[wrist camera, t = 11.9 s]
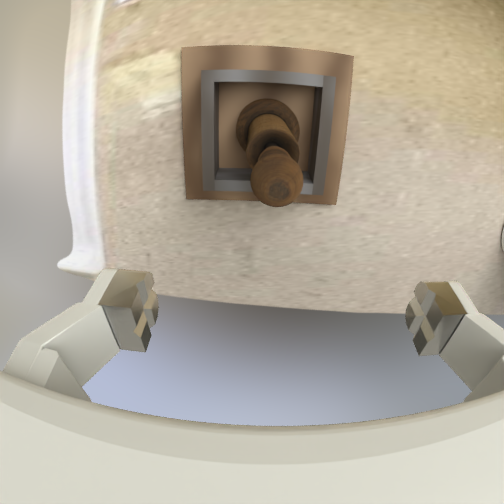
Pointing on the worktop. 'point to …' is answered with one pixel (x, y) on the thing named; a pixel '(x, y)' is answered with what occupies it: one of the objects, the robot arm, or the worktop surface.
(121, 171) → the worktop surface
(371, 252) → the worktop surface
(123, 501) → the robot arm
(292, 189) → the wooden pepper mill
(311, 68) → the holder board
